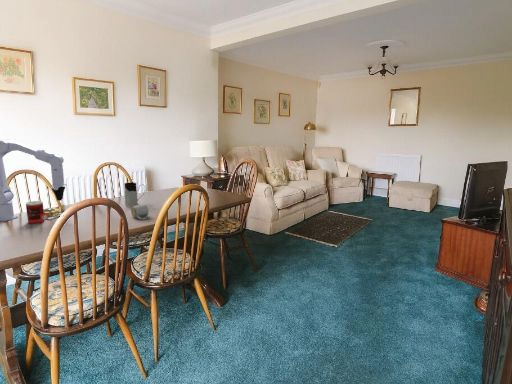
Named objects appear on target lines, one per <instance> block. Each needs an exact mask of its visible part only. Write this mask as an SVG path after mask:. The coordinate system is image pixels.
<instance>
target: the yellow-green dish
mask: <svg viewBox="0 0 512 384" xmlns="http://www.w3.org/2000/svg"><path fill="white" fill-rule="evenodd" d="M65 205H66V204H65V203H62V204H60V205H59V206H60V207H59V208H60V209H59V208H54V207H52V209H53V211H51V215H55V214H57V213H63V212H64V211H65V212H66V207H65ZM45 209H46V208H43V210H44V215H45V216H50V212H46V210H45Z"/></svg>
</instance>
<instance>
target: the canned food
mask: <svg viewBox="0 0 512 384" xmlns="http://www.w3.org/2000/svg"><path fill="white" fill-rule="evenodd" d="M43 209H44V203H43V201H41V200H32V201H28V202H26V203H25V210H26V217H27V222H28V224H31V225H35V224H36V225H37V224H42V223H44V222H45V219H44V210H43Z"/></svg>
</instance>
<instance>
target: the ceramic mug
mask: <svg viewBox="0 0 512 384" xmlns="http://www.w3.org/2000/svg"><path fill="white" fill-rule="evenodd" d="M130 213H131V216H132V217H133V218H134V219H139V220H142V221H143V220H147V219H148V216H149V208H148V205H147V204H146V203H143V204H138V205H137V206H132V207H131V208H130Z"/></svg>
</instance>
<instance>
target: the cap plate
mask: <svg viewBox="0 0 512 384" xmlns="http://www.w3.org/2000/svg"><path fill="white" fill-rule="evenodd" d="M52 208H53V207H52ZM52 208H51V207H49V208H48V207H47V208H44V209H45V210H46V212H50V216H45V215H44V221H47V220H48V221H52V220H54V219H57V218H60V217H59V216H60V215H61V214H62V213H57V214H55V215H51V211H53V209H52Z"/></svg>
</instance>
